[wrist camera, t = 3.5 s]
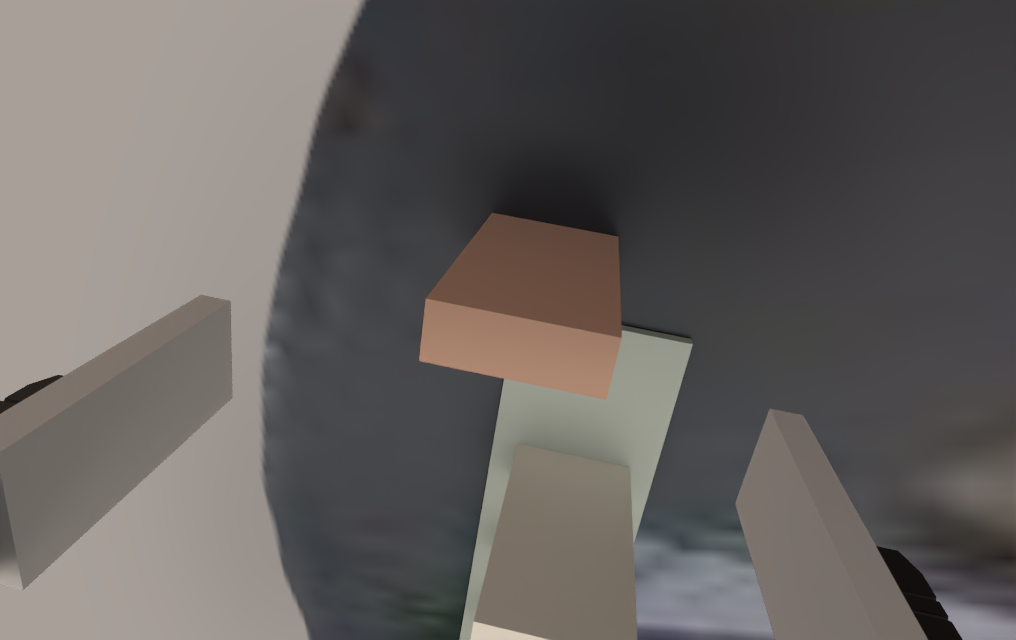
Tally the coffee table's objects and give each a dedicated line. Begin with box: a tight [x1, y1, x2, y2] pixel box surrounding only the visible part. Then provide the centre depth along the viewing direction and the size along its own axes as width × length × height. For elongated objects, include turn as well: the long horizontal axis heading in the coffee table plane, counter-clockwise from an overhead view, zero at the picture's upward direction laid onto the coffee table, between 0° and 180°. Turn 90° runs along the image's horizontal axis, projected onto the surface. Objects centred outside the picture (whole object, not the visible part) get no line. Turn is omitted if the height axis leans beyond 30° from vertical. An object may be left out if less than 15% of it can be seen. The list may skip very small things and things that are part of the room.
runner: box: [460, 325, 693, 640], centre depth 35 cm, size 30×8×1 cm, turn 171°
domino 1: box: [419, 213, 622, 400], centre depth 23 cm, size 2×6×11 cm, turn 81°
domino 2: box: [470, 443, 637, 640], centre depth 27 cm, size 2×6×11 cm, turn 81°
